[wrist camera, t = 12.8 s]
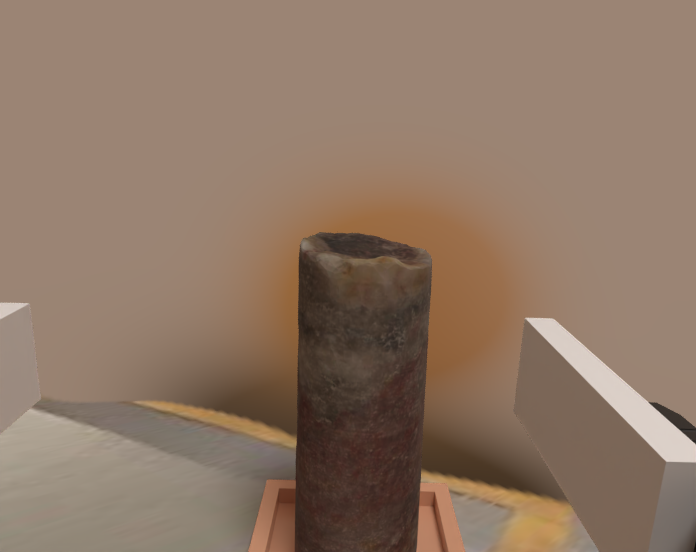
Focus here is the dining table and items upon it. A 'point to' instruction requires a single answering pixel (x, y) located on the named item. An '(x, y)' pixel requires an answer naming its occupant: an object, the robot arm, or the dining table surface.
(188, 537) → the dining table surface
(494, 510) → the dining table surface
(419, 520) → the dish
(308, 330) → the candle
